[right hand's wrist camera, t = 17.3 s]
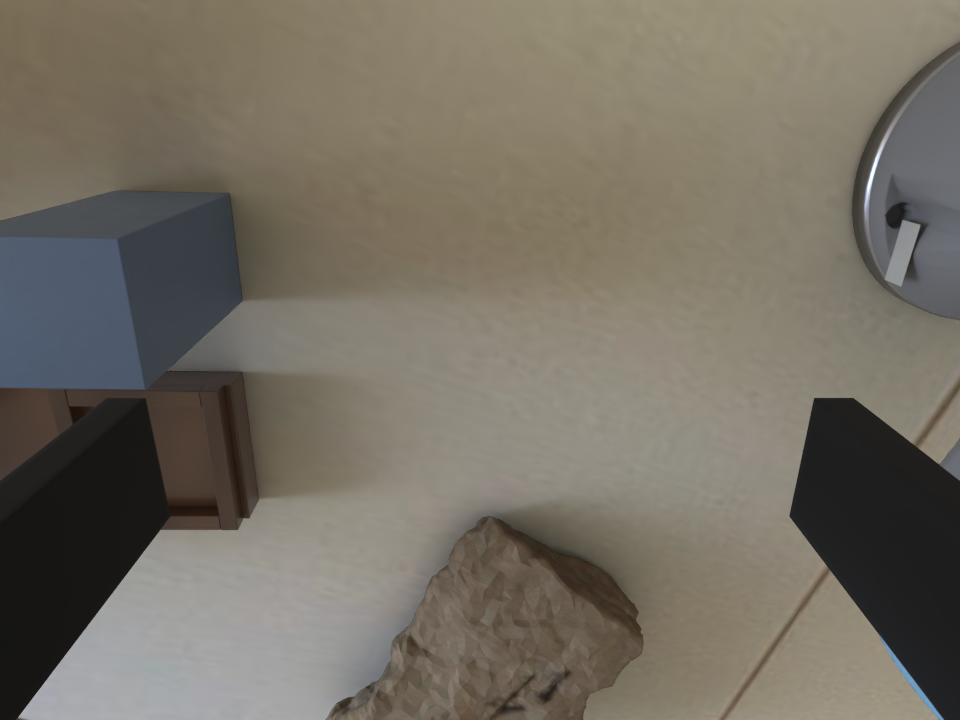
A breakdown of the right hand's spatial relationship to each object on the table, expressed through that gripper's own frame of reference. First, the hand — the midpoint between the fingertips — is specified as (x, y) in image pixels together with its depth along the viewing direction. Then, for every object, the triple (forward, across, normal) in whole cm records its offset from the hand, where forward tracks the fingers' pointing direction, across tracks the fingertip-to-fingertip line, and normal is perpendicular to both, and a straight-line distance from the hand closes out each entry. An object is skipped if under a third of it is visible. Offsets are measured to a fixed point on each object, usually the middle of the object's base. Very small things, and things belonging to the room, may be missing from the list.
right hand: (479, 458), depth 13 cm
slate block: (+24, +16, +1) cm, 29 cm away
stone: (+24, 0, +29) cm, 38 cm away
